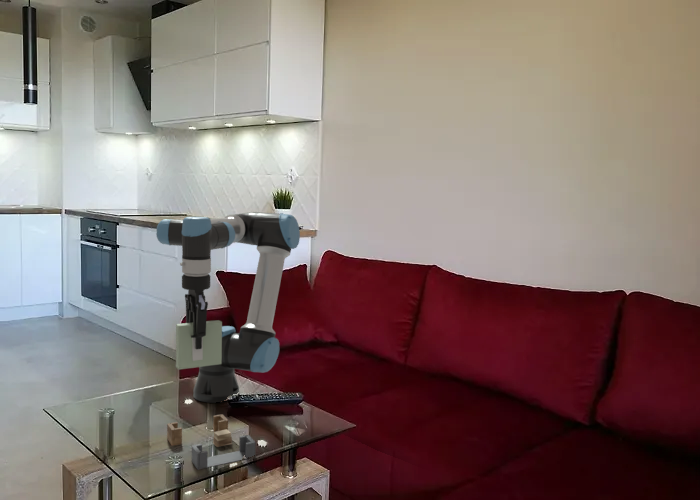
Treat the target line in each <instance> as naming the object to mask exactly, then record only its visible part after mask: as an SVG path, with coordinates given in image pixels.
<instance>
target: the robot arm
mask: <svg viewBox="0 0 700 500" xmlns="http://www.w3.org/2000/svg"><path fill="white" fill-rule="evenodd" d="M155 234H156V238H157V241H158V242H159V243H160V244H162V245H167V246H177V247H179V246H180V247H181V249H182V251H181V253H182V255H181V260H182V261H181V262H179V265H180V266H181V272H182V273H183V274H182V275H181V288H182V289H184V290H186V291H188V293H185V294H184V300H185V323H193V334H194V335H191V338H192V361H196V360H203V336H206V321H207V315H208V312H207V311H208V306H209V303H208V301H206V296H205V294H204V293H205V290H208V289H210V288H211V275H210V273H211V272H212V271H211V270H212V263H211V262H212V257H211V250H218V249H225V248H228V247H230V246H231V245H232V244H233V243H234V244H235V243H239V244H245V245H250V246H256V250H257V251H258V253H259V258H258V262H257V268H256V272H255V279H254V283H253V287H252V288H253V289H252V293H251V298H250V303H249V307H248V308H249V309H248V313H247V318H246V319H247V320H246V322H245V324H244V325H242V326H241V327H240V329H239V332H237V331H236V328H235V327H234V326H232V325H231V326H230V325H222V360H221V364H218V365H210V366H203V367H198V375H197V378H196V381H195V384H194V386H193V398H194V399H195V400H196V401H199V402H202V403H209V404H210V403H211V404H212V403H213V404H215V403H216V402H220V403H222V402H221V401H224V400H226V399H227V397H228V396H229V395H233V394H237V393H238V392H239V393H240V387H239V383H238V380H237V377H236V373H235V370H242V371H248V372H251V373H268V372H269V371H270V370H272V368H273V367H274V366H275V365H276V362H277V361H278V360H277V359H278V357H279V355H280V342H279V341H280V340H279V339H278V338H277V337H276V331H275V330H274V329H273V323H274V318H275V315H276V314H275V313H276V308H277V307H276V306H277V302H278V297H279V292H280V287H281V280H282V275H283V271H284V265H285V261H286V259H287V258H288V257H289V256H290V255H291V251H292V250H295V249H297V247H298V245H299V244H300V240H301V239H300V238H301V231H300V225H299V223H298V220H297V218H296V217H295V216H293V215H292V214H288V213H283V212H280V213H279V212H278V213H273V212H259V211H258V212H257V211H253V212H252V211H251V212H243V213H236V214H228V215H226V216H224V217H213V218H212V217H211V218H209V217H208V216H207V217H206V216H186V217H184V218H183V219H173V218H170V219H169V218H168V219H166V218H164V219H161V220H160V221H159V222H158V224H157V226H156V233H155ZM216 404H217V403H216Z"/></svg>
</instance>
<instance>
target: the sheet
mask: <svg viewBox="0 0 700 500" xmlns="http://www.w3.org/2000/svg"><path fill="white" fill-rule="evenodd" d="M175 325H176V326H175V327H176V328H175V368H176V369H177V370H186V369H194V368H199V367H203V366H210V365H218V364H221V360H222V326H223V321H222V320H219V319H218V320H206V336H203V360H196V361H192V338H191V335H194V334H193V323H186V322H185V323H176V324H175Z"/></svg>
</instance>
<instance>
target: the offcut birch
mask: <svg viewBox="0 0 700 500" xmlns="http://www.w3.org/2000/svg"><path fill="white" fill-rule="evenodd" d="M212 444H213V445H214V446H215V447H216V448H219V447H220V446H217V445H216V444H215V443H214V442H212ZM229 445H233V443H229V444H225V445H222V446H221V447H224V446H229Z"/></svg>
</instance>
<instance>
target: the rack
mask: <svg viewBox="0 0 700 500" xmlns="http://www.w3.org/2000/svg"><path fill="white" fill-rule="evenodd" d="M212 421H213V422H212V423H213V425H212V427H213V429H212V431H213V433H214V432H216V431H221V430H226V429H227V430H228V431H229V419H227V417H226V416H225V415H224V414H216V415H213V418H212ZM166 426H167V427H166V429H167V431H166V433H167V435H166V439H167V441H168V442H169V444H170V445H171V446H172V447H173V446H179V445H182V444H183V443H182V442H183V428H182V427H179V423H178V421H174V422H169V423H168V422H167V425H166Z"/></svg>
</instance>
